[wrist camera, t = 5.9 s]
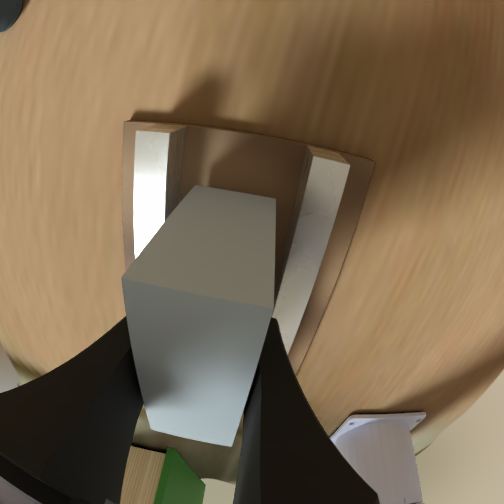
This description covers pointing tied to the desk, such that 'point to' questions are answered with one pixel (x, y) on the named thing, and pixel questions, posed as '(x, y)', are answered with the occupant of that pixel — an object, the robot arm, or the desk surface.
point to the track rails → (300, 226)
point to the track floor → (262, 184)
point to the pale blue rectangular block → (202, 311)
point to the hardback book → (160, 479)
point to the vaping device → (9, 13)
